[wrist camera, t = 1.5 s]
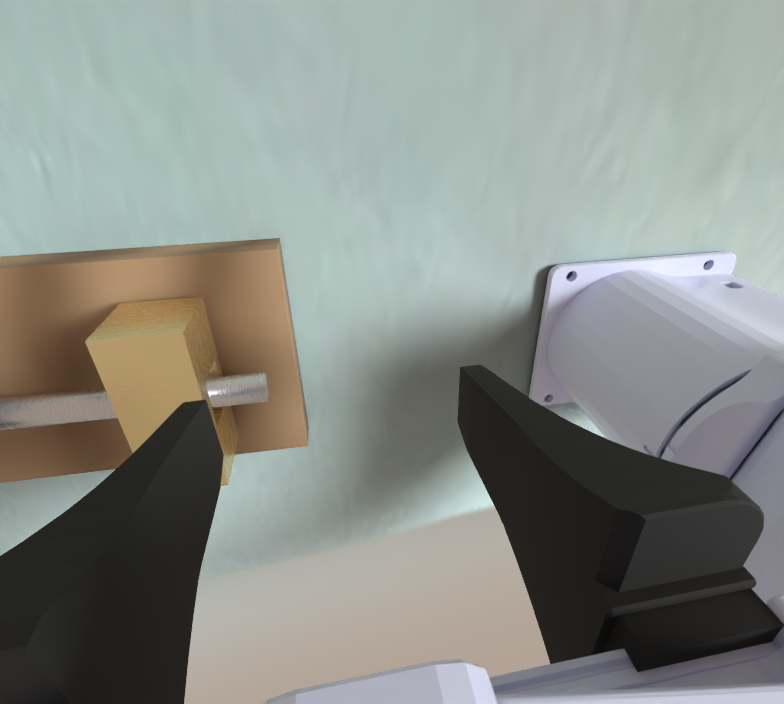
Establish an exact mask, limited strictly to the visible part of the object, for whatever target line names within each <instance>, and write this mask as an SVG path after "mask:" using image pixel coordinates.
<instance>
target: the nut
mask: <svg viewBox="0 0 784 704" xmlns="http://www.w3.org/2000/svg"><path fill="white" fill-rule="evenodd" d="M85 343H86V345H87V348H88V350H89V352H90V355H91V357H92V359H93V362H94V364H95V366H96V369H97V371H98V373H99V376H100V378H101V380H102V383H103V385H104V387H105V390H106V392H107V394H108V397H109V399H110V401H111V404H112V406H113V408H114V411H115V413H116V415H117V418H118V420H119V422H120V425H121V427H122V429H123V432H124V434H125V436H126V439H127V441H128V443H129V446H130V448H131V450H132V453H134V452H135V451H136V450H137V449H138V448H139V447H140V446H141V445H142V444H143V443H144V442H145V441H146V440H147V439H148V438H149V437H150V436H151V435H152V434H153V433H154V432H155V431H156V430H157V429H158V428H159V426H160V425H161V424H162V423H163V422H164V421H165V420H166V419H167V418H168V417H169V416H170V415H171V414H172V413H173V412H174V411H175V410H176V409H177V408H178V407H179V406H180V405H181V404H182V403H183V402H190V401H198V400H206V401H207V404H208V407H209V410H210V413H211V416H212V420H213V423H214V426H215V429H216V432H217V436H218V439H219V442H220V445H221V448H222V451H223V455H224V457H223V468H222V478H221V486H224V485H228V483H229V478H230V474H231V469H232V465H233V460H234V456H235V451H236V447H237V442H238V438H239V435H238V431H237V428H236V424H235V420H234V416H233V412H232V408H231V406H223V407H214V408H212V405H211V402H210V398H209V395H208V391H207V388H206V381H207V378H210V377H220V376H223V374H222V370H221V366H220V362H219V358H218V355H217V351H216V347H215V343H214V339H213V335H212V331H211V328H210V324H209V320H208V316H207V312H206V308H205V305H204V301H203V297H194V298H182V299H169V300H157V301H144V302H132V303H120V304H119V305H118V306H117V307H116V308H115V309H114V310H113V311H112V313H111V314H110V315H109V316H108V317H107V318H106V319H105V320H104V321H103V322H102V323H101V324H100V326H99V327H98V328H97V329H96V330H95V331H94V332H93V333H92V334H91V335H90V336H89V337H88V338H87V340H86V341H85Z"/></svg>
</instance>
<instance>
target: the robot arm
mask: <svg viewBox="0 0 784 704" xmlns="http://www.w3.org/2000/svg"><path fill="white" fill-rule="evenodd" d="M736 259H737V258H736V255H734V254H733V253H730V252H727V251H723V252H710V253H698V254H685V255H672V256H660V257H647V258H634V259H621V260H609V261H596V262H583V263H571V264H559V265H556V266H554V267H553V268H552V269H551V270H550V271H549V274H548V279H547V285H546V291H545V298H544V304H543V310H542V316H541V323H540V329H539V335H538V342H537V348H536V354H535V360H534V367H533V373H532V379H531V386H530V392H529V397H527V396H526V395H524V394H523V393H521V392H520V391H518V390H517V389H515V388H514V387H512V386H511V385H509V384H508V383H506V382H505V381H504V380H502V379H501V378H499V377H498V376H496V375H495V374H494V373H492V372H491V371H489V370H488V369H486V368H485V367H483V366H482V365H473V366H465V367H460V383H459V405H458V424H459V427H460V430H461V433H462V436H463V439H464V442H465V445H466V448H467V451H468V453H469V455H470V457H471V459H472V461H473V463H474V465H475V467H476V469H477V471H478V473H479V475H480V477H481V479H482V481H483V483H484V485H485V488H486V490H487V492H488V494H489V496H490V498H491V500H492V502H493V504H494V506H495V508H496V510H497V511H498V514H499V516H500V518H501V521H502V523H503V524H504V527H505V530H506V533H507V535H508V538H509V541H510V543H511V546H512V549H513V552H514V554H515V557H516V560H517V562H518V565H519V568H520V571H521V574H522V577H523V580H524V583H525V585H526V588H527V591H528V594H529V597H530V600H531V603H532V606H533V609H534V612H535V615H536V619H537V621H538V625H539V628H540V631H541V634H542V637H543V640H544V644H545V647H546V650H547V654H548V657H549V660H550V664H549V665H544V666H540V667H535V668H531V669H526V670H521V671H517V672H512V673H508V674H504V675H498V676H494V677H488V674H487V672H486V670H485V669H484V668H482V667H481V666H479V665H476V664H473V663H470V662H467V661H464V660H461V659H457V660H442V661H432V662H427V663H422V664H417V665H413V666H408V667H403V668H398V669H393V670H389V671H384V672H379V673H374V674H369V675H365V676H360V677H356V678H350V679H346V680H341V681H336V682H331V683H326V684H322V685H317V686H313V687H308V688H303V689H298V690H295V691H292V692H289V693H286V694H283V695H280V696H277V697H274V698H272V699H269V700H268V701H267V702H265V703H264V704H784V297H782V296H780V295H778V294H776V293H773V292H771V291H769V290H766V289H764V288H762V287H759V286H757V285H755V284H753V283H750V282H748V281H746V280H743V279H741V278H739V277H736V276H734V275H732V271H733V269H734V266H735V264H736ZM707 261H708V262H707ZM706 262H707V264H706V265H705V266H704V264H705V263H706ZM703 266H704V267H703ZM571 271H573V274H572V276H571V277H570V278H568V279H566V276H567V274H568V273H569V272H571ZM547 395H549V396H548V397H547V398H545V397H546V396H547ZM571 402H576V403H577V404H578V406H579V407H580V408H581V409H582V410H583V411H584V413H585V414H586V415H587V416H588V417H589V419H590V420H591V421H592V422H593V423H594V424H595V426H596V427H597V428H598V429H599V430H600V432H601V433H602V434H603V435H604V436H605V438H603V437H601V436H599V435H596V434H594V433H592V432H590V431H588V430H586V429H584V428H582V427H580V426H578V425H575V424H573V423H571V422H569V421H568V420H566V419H564V418H562V417H560V416H558V415H557V414H555V413H553V412H552V411H550V410H548V409H546V408H545V407H543V406H546V405H554V404H563V403H571ZM223 457H224V455H223V451H222V448H221V445H220V442H219V439H218V436H217V432H216V429H215V426H214V423H213V420H212V416H211V413H210V410H209V407H208V404H207V401H206V400H198V401H190V402H183V403H182V404H181V405H180V406H179V407H178V408H177V409H176V410H175V411H174V412H173V413H172V414H171V415H170V416H169V417H168V418H167V419H166V420H165V421H164V422H163V423H162V424H161V425H160V426H159V428H158V429H157V430H156V431H155V432H154V433H153V434H152V435H151V436H150V437H149V438H148V439H147V440H146V441H145V442H144V443H143V444H142V445H141V446H140V447H139V448H138V449H137V450H136V451H135V452H134V453H133V454H132V455H131V456H130V457H129V458H127V459H126V460H125V461H124V462H123V463H122V464H121V465H120V466H119V467H118V468H117V469H116V470H115V471H114V472H112V473H111V474H110V475H109V476H108V477H107V478H106V479H105V480H104V481H103V482H101V483H100V484H99V485H98V486H97V487H96V488H94V489H93V490H92V491H91V492H90V493H88V494H87V495H86V496H85V497H83V498H82V499H81V500H80V501H78V502H77V503H76V504H74V505H73V506H72V507H71V508H69V509H68V510H67V511H65V512H64V513H63V514H61V515H60V516H59V517H57V518H56V519H54V520H53V521H51V522H50V523H49V524H47V525H46V526H44V527H43V528H41V529H40V530H39V531H37V532H36V533H34V534H33V535H31V536H30V537H29V538H27V539H26V540H24V541H23V542H21V543H20V544H18V545H17V546H15V547H14V548H12V549H10V550H9V551H7V552H6V553H4V554H3V555H1V556H0V704H184V697H185V685H186V676H187V665H188V656H189V647H190V639H191V631H192V621H193V614H194V607H195V600H196V593H197V586H198V579H199V574H200V569H201V564H202V560H203V556H204V552H205V548H206V544H207V540H208V536H209V532H210V528H211V524H212V520H213V516H214V512H215V508H216V504H217V500H218V496H219V491H220V486H221V478H222V468H223Z"/></svg>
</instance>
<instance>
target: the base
mask: <svg viewBox="0 0 784 704" xmlns="http://www.w3.org/2000/svg"><path fill="white" fill-rule="evenodd" d="M194 297H203V301H204V305H205V308H206V312H207V316H208V320H209V324H210V328H211V331H212V335H213V339H214V343H215V347H216V351H217V355H218V358H219V362H220V366H221V370H222V374H223V376H220V377H210V378H207V381H206V388H207V391H208V395H209V398H210V402H211V405H212V408H214V407H223V406H231V408H232V412H233V416H234V420H235V424H236V428H237V431H238V435H239V438H238V442H237V447H236V451H235V454H243V453H251V452H259V451H268V450H276V449H284V448H293V447H301V446H308V427H309V426H308V420H307V413H306V407H305V401H304V394H303V388H302V381H301V375H300V368H299V362H298V355H297V349H296V343H295V336H294V330H293V323H292V317H291V310H290V304H289V297H288V291H287V284H286V278H285V272H284V265H283V259H282V252H281V246H280V239H279V238H278V239H263V240H248V241H233V242H218V243H203V244H188V245H173V246H158V247H143V248H128V249H113V250H98V251H83V252H68V253H53V254H38V255H23V256H8V257H0V483H1V482H9V481H18V480H26V479H34V478H43V477H51V476H59V475H68V474H76V473H84V472H93V471H101V470H109V469H117V468H118V467H119V466H120V465H121V464H122V463H123V462H124V461H125V460H126V459H127V458H129V457H130V456H131V455H132V454H133V453H132V450H131V448H130V446H129V443H128V441H127V439H126V436H125V434H124V432H123V429H122V427H121V425H120V422H119V420H118V418H117V415H116V413H115V411H114V408H113V406H112V404H111V401H110V399H109V397H108V394H107V392H106V390H105V387H104V385H103V383H102V380H101V378H100V376H99V373H98V371H97V369H96V366H95V364H94V362H93V359H92V357H91V355H90V352H89V350H88V348H87V345H86V343H85V341H86V340H87V338H88V337H89V336H90V335H91V334H92V333H93V332H94V331H95V330H96V329H97V328H98V327H99V326H100V324H101V323H102V322H103V321H104V320H105V319H106V318H107V317H108V316H109V315H110V314H111V313H112V311H113V310H114V309H115V308H116V307H117V306H118V305H119V304H120V303H132V302H144V301H157V300H169V299H182V298H194Z"/></svg>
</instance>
